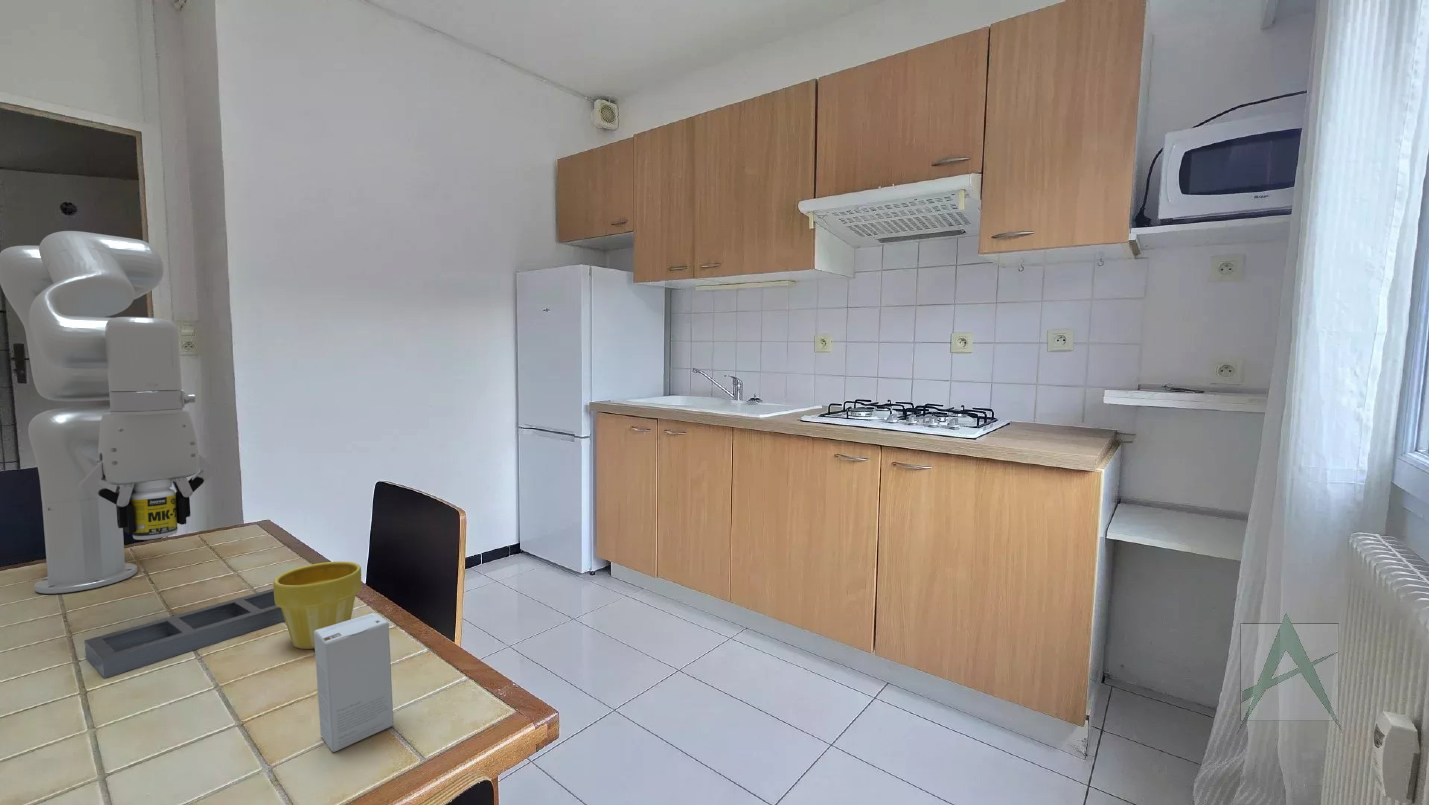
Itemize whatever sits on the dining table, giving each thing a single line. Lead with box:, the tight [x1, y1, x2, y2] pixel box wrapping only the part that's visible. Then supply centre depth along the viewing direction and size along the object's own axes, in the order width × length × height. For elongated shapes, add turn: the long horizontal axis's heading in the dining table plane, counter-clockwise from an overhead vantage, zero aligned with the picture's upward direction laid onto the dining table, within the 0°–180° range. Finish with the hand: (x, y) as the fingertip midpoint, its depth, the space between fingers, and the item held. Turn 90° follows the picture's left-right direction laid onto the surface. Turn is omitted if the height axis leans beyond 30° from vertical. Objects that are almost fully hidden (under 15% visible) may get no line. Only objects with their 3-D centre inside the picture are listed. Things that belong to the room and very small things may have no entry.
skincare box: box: [314, 612, 394, 753], centre depth 62 cm, size 6×4×12 cm
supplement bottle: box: [130, 480, 179, 541], centre depth 84 cm, size 5×5×8 cm
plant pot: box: [272, 561, 362, 650], centre depth 83 cm, size 10×10×10 cm
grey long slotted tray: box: [83, 587, 285, 679], centre depth 86 cm, size 9×25×2 cm, turn 147°
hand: (155, 526), depth 85 cm, fingers closed on supplement bottle, 4 cm apart
